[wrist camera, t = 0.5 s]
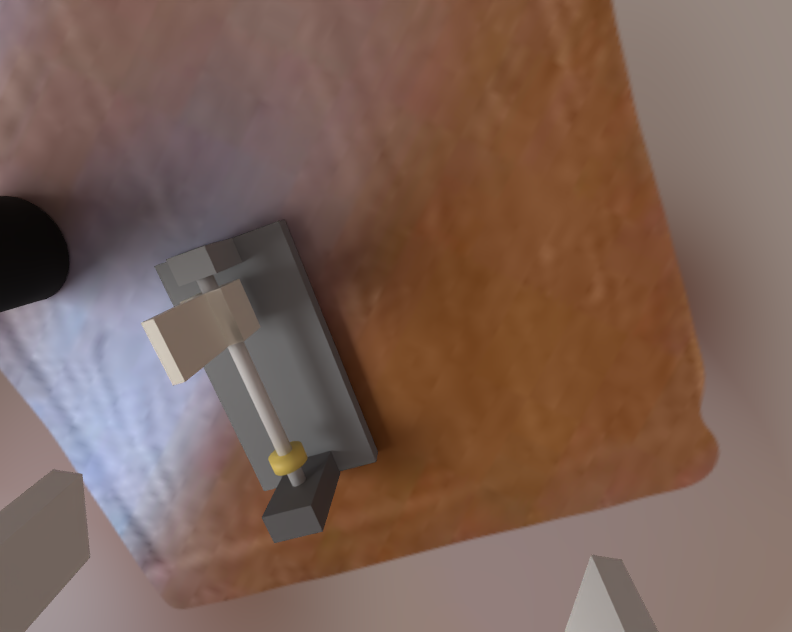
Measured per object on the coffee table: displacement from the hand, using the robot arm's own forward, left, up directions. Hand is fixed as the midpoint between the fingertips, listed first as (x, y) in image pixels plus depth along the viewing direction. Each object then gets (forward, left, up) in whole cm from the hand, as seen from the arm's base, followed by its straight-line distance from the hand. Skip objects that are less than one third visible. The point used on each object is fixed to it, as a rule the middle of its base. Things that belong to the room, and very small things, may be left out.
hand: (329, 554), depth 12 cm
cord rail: (+2, -12, -26) cm, 29 cm away
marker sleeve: (-4, -12, -23) cm, 26 cm away
